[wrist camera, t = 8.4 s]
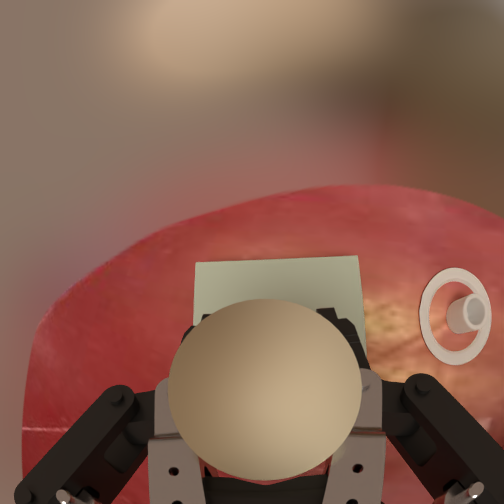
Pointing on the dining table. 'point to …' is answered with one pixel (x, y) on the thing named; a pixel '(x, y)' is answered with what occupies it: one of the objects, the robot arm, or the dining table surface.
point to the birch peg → (264, 389)
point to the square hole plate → (283, 285)
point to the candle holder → (458, 316)
